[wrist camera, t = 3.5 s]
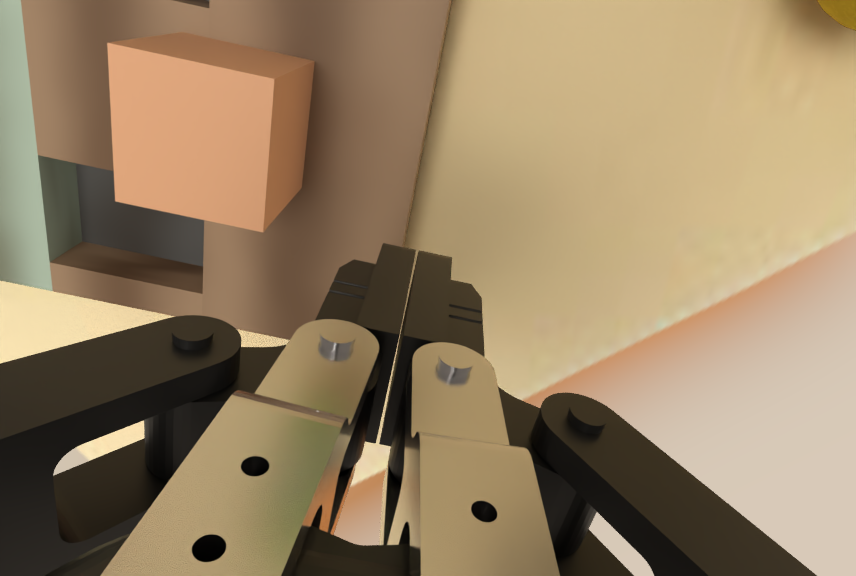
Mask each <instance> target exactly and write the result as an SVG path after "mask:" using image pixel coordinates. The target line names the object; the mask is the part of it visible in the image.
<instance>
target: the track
mask: <svg viewBox="0 0 856 576" xmlns="http://www.w3.org/2000/svg"><path fill="white" fill-rule="evenodd" d="M451 3H452V0H0V280H1V281H6V282H11V283H15V284H20V285H25V286H30V287H35V288H40V289H45V290H50V291H54V292H59V293H64V294H69V295H74V296H79V297H84V298H89V299H93V300H98V301H103V302H108V303H113V304H118V305H123V306H128V307H132V308H137V309H142V310H147V311H152V312H157V313H162V314H167V315H171V316H176V317H177V316H184V315H201V316H208V317H213V318H217V319H220V320H223V321H225V322H227V323H229V324H230V325H232V326H233V327H234V328H235V329H240V330H245V331H249V332H254V333H259V334H264V335H269V336H274V337H279V338H283V339H288V340H290V339H291V338H292V336H293V335H294V333H295V332H296V331H297V329H298V328H300V327H301V326H302V325H304V324H306V323H308V322H312V321H315V319H316V317H317V315H318V313H319V311H320V308H321V306H322V304H323V302H324V300H325V298H326V295H327V293H328V292H329V289H330V287H331V285H332V282H333V281H334V278H335V276H336V274H337V272H338V269H339V267H341V266H343V265H345V264H347V263H348V262H350V261H352V260H354V259H355V260H360V261H364V262H369V263H374V264H376V262H377V259H378V256H379V253H380V250H381V247H382V244H383V243H386V244H391V245H396V246H400V247H404V243H405V238H406V233H407V228H408V223H409V218H410V213H411V208H412V203H413V197H414V192H415V187H416V182H417V177H418V172H419V167H420V162H421V157H422V151H423V146H424V141H425V136H426V131H427V126H428V121H429V116H430V111H431V105H432V100H433V95H434V90H435V85H436V80H437V75H438V70H439V65H440V59H441V54H442V49H443V44H444V39H445V34H446V29H447V24H448V19H449V13H450V8H451ZM178 32H185V33H189V34H194V35H198V36H203V37H207V38H212V39H217V40H221V41H226V42H230V43H235V44H239V45H244V46H249V47H253V48H258V49H262V50H267V51H271V52H276V53H281V54H285V55H290V56H294V57H299V58H303V59H308V60H312V61H315V63H314V73H313V83H312V93H311V102H310V112H309V122H308V132H307V141H306V151H305V161H304V171H303V180H302V188H301V189H300V190H299V192H298V193H297V194H296V195H295V196H294V197H293V199H292V200H291V201H290V202H289V203H288V204H287V205H286V207H285V208H284V209H283V210H282V211H281V212H280V214H279V215H278V216H277V217H276V218H275V219H274V220H273V222H272V223H271V224H270V225H269V226H268V227H267V229H266V230H265V231H264V232H259V231H254V230H249V229H244V228H240V227H235V226H230V225H225V224H220V223H216V222H211V221H206V220H201V219H197V218H192V217H187V216H182V215H178V214H173V213H168V212H163V211H159V210H154V209H149V208H144V207H140V206H135V205H130V204H125V203H121V202H116V201H115V187H114V167H113V147H112V127H111V107H110V88H109V68H108V48H107V43H108V42H115V41H122V40H129V39H136V38H143V37H150V36H157V35H164V34H171V33H178Z"/></svg>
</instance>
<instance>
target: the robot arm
mask: <svg viewBox="0 0 856 576" xmlns="http://www.w3.org/2000/svg"><path fill="white" fill-rule="evenodd" d="M415 252H416V250H414V249H409V248H405V247H400V246H396V245H391V244H386V243H383V244H382V247H381V250H380V253H379V256H378V259H377V262H376V264H374V263H369V262H364V261H360V260H355V259H354V260H352V261H350V262H348V263H347V264H345V265H343V266H341V267H339V269H338V272H337V274H336V276H335V278H334V281H333V282H332V285H331V287H330V289H329V292H328V293H327V295H326V298H325V300H324V302H323V304H322V306H321V308H320V311H319V313H318V315H317V317H316V319H315V321H312V322H308V323H306V324H304V325H302V326H301V327H300V328H298V329H297V331H296V332H295V333H294V335H293V336H292V338H291V339H290V341H289V342H288V344H287V345H283V346H277V347H241V336H240V334H239V332H238V331H237V330H236V329H235V328H234V327H233V326H232V325H230V324H229V323H227V322H225V321H223V320H220V319H217V318H213V317H208V316H201V315H184V316H177V317H172V318H168V319H164V320H160V321H157V322H153V323H149V324H146V325H142V326H138V327H134V328H131V329H127V330H123V331H120V332H116V333H112V334H108V335H105V336H101V337H97V338H94V339H90V340H86V341H83V342H79V343H75V344H71V345H68V346H64V347H60V348H57V349H53V350H49V351H46V352H42V353H38V354H34V355H31V356H27V357H23V358H20V359H16V360H12V361H8V362H5V363H1V364H0V576H634V575H633V574H632V573H631V572H630V571H629V570H628V569H627V568H626V567H625V566H624V565H623V564H622V563H621V562H620V561H619V560H618V559H617V558H616V557H615V556H614V555H613V554H612V553H611V552H610V551H609V550H608V549H607V548H606V547H605V546H604V545H603V544H602V543H601V542H600V541H599V540H598V539H597V538H596V537H595V536H594V535H593V534H592V532H591V531H590V530H589V527H590V525H591V522H592V520H593V518H594V516H595V514H596V512H598V513H599V514H600V515H601V516H602V517H603V518H604V519H605V520H606V521H607V522H608V523H609V524H610V525H611V526H612V527H613V528H614V529H615V530H616V531H617V532H618V533H619V534H620V535H621V536H622V537H623V538H624V539H625V540H626V541H627V542H628V543H629V544H630V545H631V546H632V547H633V548H634V549H636V550H637V551H638V552H639V553H640V554H641V555H642V557H643V558H644V559H645V560H646V561H647V562H648V564H649V565H650V567H651V569H652V571H653V573H654V576H816V575H815V574H814V573H813V572H812V571H810V570H809V569H808V568H807V567H806V566H804V565H803V564H802V563H801V562H799V561H798V560H797V559H796V558H794V557H793V556H792V555H791V554H789V553H788V552H787V551H786V550H785V549H783V548H782V547H781V546H779V545H778V544H777V543H776V542H775V541H773V540H772V539H771V538H770V537H768V536H767V535H766V534H765V533H763V532H762V531H761V530H760V529H759V528H757V527H756V526H755V525H754V524H752V523H751V522H750V521H749V520H747V519H746V518H745V517H744V516H742V515H741V514H740V513H739V512H737V511H736V510H735V509H734V508H733V507H731V506H730V505H729V504H728V503H726V502H725V501H724V500H723V499H721V498H720V497H719V496H718V495H716V494H715V493H714V492H713V491H712V490H710V489H709V488H708V487H707V486H705V485H704V484H703V483H701V482H700V481H699V480H698V479H696V478H695V477H694V476H693V475H692V474H690V473H689V472H688V471H687V470H686V469H684V468H683V467H682V466H680V465H679V464H678V463H677V462H676V461H674V460H673V459H672V458H670V457H669V456H668V455H667V454H666V453H664V452H663V451H662V450H661V449H659V448H658V447H657V446H656V445H655V444H653V443H652V442H651V441H650V440H648V439H647V438H646V437H645V436H643V435H642V434H641V433H640V432H639V431H637V430H636V429H635V428H633V427H632V426H631V425H630V424H628V423H627V422H626V421H625V420H624V419H622V418H621V417H620V416H619V415H617V414H616V413H615V412H614V411H612V410H611V409H610V408H608V407H607V406H605V405H603V404H602V403H600V402H598V401H596V400H594V399H592V398H589V397H586V396H582V395H579V394H574V393H557V394H553V395H551V396H549V397H547V398H546V399H545V400H544V401H543V403H542V405H541V408H538V407H535V406H533V405H531V404H528V403H526V402H524V401H521V400H519V399H517V398H515V397H513V396H511V395H509V394H508V393H506V392H505V391H503V390H502V389H501V388H499V387H498V384H497V379H496V374H495V371H494V368H493V367H492V365H491V364H490V362H489V361H488V360H487V359H486V358H484V338H483V324H482V322H483V318H482V298H481V296H480V295H479V294H478V292H477V291H476V290H475V289H474V287H473V286H472V285H471V284H468V283H463V282H458V281H454V280H451V264H452V257H447V256H442V255H438V254H433V253H428V252H424V251H419V252H418V256H417V261H416V265H415V270H414V274H413V279H412V284H411V288H410V293H409V297H408V302H407V306H406V311H405V315H404V320H403V325H402V330H401V334H400V329H401V324H402V319H403V314H404V308H405V303H406V298H407V293H408V288H409V283H410V278H411V273H412V268H413V262H414V257H415ZM399 334H400V339H399ZM398 339H399V344H398V350H397V355H396V360H395V365H394V370H393V376H392V381H391V386H390V391H389V396H388V402H387V407H386V412H385V417H384V422H383V428H382V433H381V438H380V443H379V444H382V445H387V446H391V449H390V455H389V460H388V464H387V469H386V473H385V477H384V483H383V496H382V511H381V525H380V540H379V545H372V546H362V545H356V544H353V543H350V542H348V541H345V540H343V539H341V538H339V537H336V536H334V532H335V529H336V526H337V523H338V519H339V517H340V514H341V511H342V508H343V505H344V502H345V499H346V497H347V494H348V491H349V488H350V485H351V482H352V479H353V476H354V471H355V466H356V463H357V462H358V460H359V459H360V457H361V455H362V451H363V447H364V443H365V441H366V442H371V443H376V439H377V435H378V430H379V426H380V421H381V416H382V412H383V407H384V403H385V398H386V394H387V389H388V384H389V380H390V375H391V371H392V366H393V362H394V357H395V352H396V348H397V343H398ZM143 420H144V428H145V438H144V439H142V440H139V441H137V442H135V443H132V444H130V445H127V446H125V447H122V448H120V449H118V450H115V451H113V452H110V453H108V454H105V455H103V456H100V457H98V458H96V459H93V460H91V461H88V462H86V463H84V464H81V465H79V466H76V467H74V468H71V469H69V470H66V471H64V472H62V473H59V474H57V475H54V476H53V473H54V469H55V467H56V465H57V464H58V462H59V461H60V460H61V458H62V457H63V456H64V455H66V454H67V453H68V452H69V451H71V450H72V449H74V448H75V447H77V446H79V445H81V444H84V443H86V442H89V441H91V440H94V439H97V438H99V437H102V436H104V435H107V434H109V433H112V432H115V431H117V430H120V429H122V428H125V427H127V426H130V425H133V424H135V423H138V422H140V421H143Z"/></svg>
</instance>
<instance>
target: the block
mask: <svg viewBox="0 0 856 576" xmlns="http://www.w3.org/2000/svg"><path fill="white" fill-rule="evenodd" d="M107 48H108V68H109V88H110V107H111V127H112V147H113V167H114V187H115V201H116V202H121V203H125V204H130V205H135V206H140V207H144V208H149V209H154V210H159V211H163V212H168V213H173V214H178V215H182V216H187V217H192V218H197V219H201V220H206V221H211V222H216V223H220V224H225V225H230V226H235V227H240V228H244V229H249V230H254V231H259V232H264V231H265V230H266V229H267V227H268V226H269V225H270V224H271V223H272V222H273V220H274V219H275V218H276V217H277V216H278V215H279V214H280V212H281V211H282V210H283V209H284V208H285V207H286V205H287V204H288V203H289V202H290V201H291V200H292V199H293V197H294V196H295V195H296V194H297V193H298V192H299V190H300V189H301V188H302V180H303V171H304V161H305V151H306V141H307V132H308V122H309V112H310V102H311V93H312V83H313V73H314V63H315V61H312V60H308V59H303V58H299V57H294V56H290V55H285V54H281V53H276V52H271V51H267V50H262V49H258V48H253V47H249V46H244V45H239V44H235V43H230V42H226V41H221V40H217V39H212V38H207V37H203V36H198V35H194V34H189V33H185V32H178V33H171V34H164V35H157V36H150V37H143V38H136V39H129V40H122V41H115V42H108V43H107Z"/></svg>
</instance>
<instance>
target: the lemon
mask: <svg viewBox="0 0 856 576" xmlns="http://www.w3.org/2000/svg"><path fill="white" fill-rule="evenodd" d="M817 1H818V3H819V4H820V6H821V7H822V9H823V10H824V11H825V12H826V13H827V14H828V15H830V16H831V17H832V18H833V19H834V20H836V21H837V22H838V23H839V24H841V25H843V26H845V27H848V28H850V29H853V30H856V0H817Z"/></svg>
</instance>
